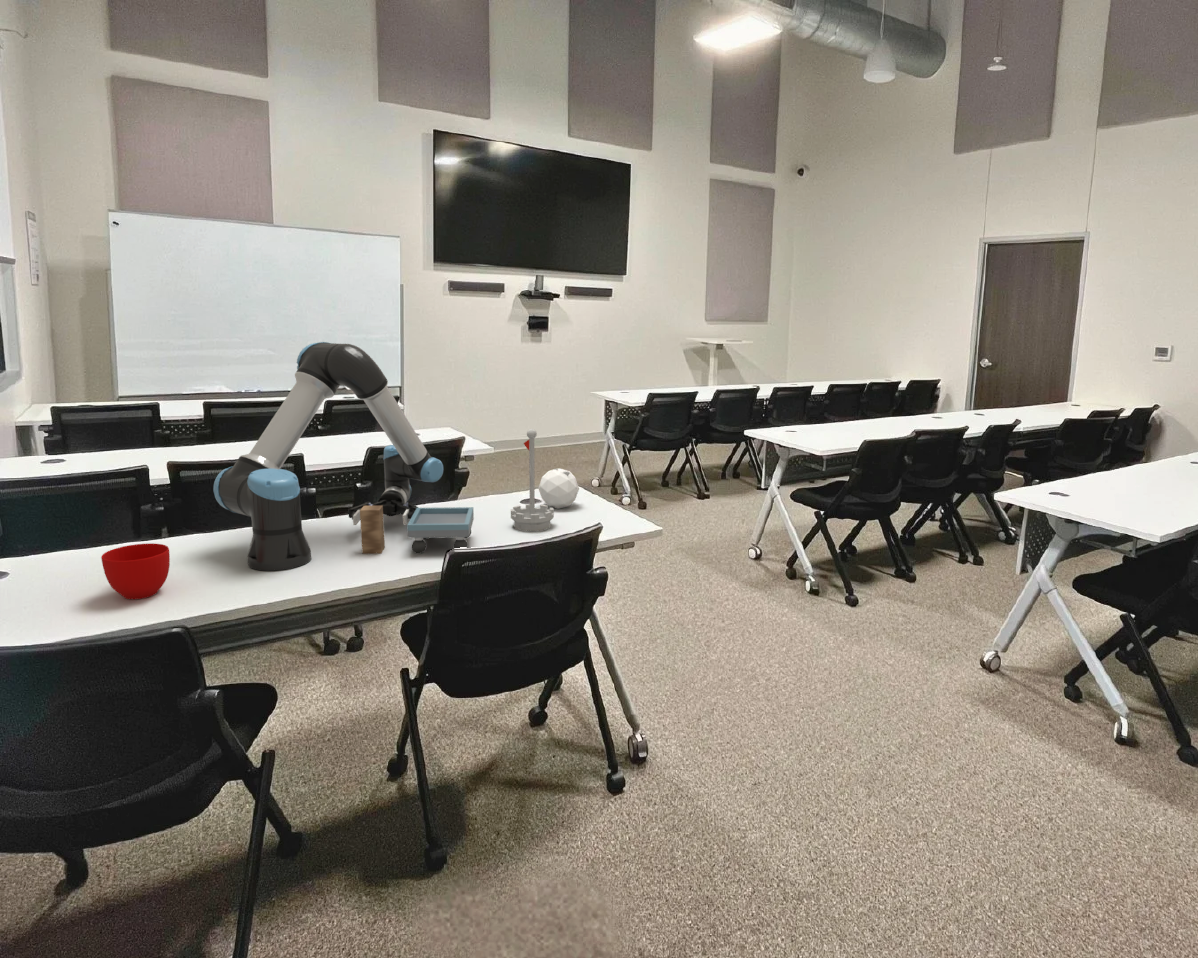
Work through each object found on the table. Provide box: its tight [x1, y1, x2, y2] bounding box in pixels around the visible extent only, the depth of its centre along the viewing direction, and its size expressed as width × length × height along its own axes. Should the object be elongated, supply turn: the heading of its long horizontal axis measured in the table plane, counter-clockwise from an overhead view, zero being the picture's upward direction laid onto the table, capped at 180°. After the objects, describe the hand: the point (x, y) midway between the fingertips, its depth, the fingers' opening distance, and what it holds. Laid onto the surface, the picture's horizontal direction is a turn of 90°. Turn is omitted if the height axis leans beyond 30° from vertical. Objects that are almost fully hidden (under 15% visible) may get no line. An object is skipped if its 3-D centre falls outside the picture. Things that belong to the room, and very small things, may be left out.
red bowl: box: [100, 543, 171, 600], centre depth 169 cm, size 13×17×10 cm
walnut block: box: [359, 505, 386, 555], centre depth 201 cm, size 5×5×12 cm
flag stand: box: [510, 428, 555, 532], centre depth 224 cm, size 13×13×30 cm
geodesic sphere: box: [537, 467, 580, 509], centre depth 249 cm, size 14×14×14 cm
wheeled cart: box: [406, 506, 475, 554], centre depth 207 cm, size 16×18×8 cm
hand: (379, 520), depth 208 cm, fingers open, 13 cm apart
